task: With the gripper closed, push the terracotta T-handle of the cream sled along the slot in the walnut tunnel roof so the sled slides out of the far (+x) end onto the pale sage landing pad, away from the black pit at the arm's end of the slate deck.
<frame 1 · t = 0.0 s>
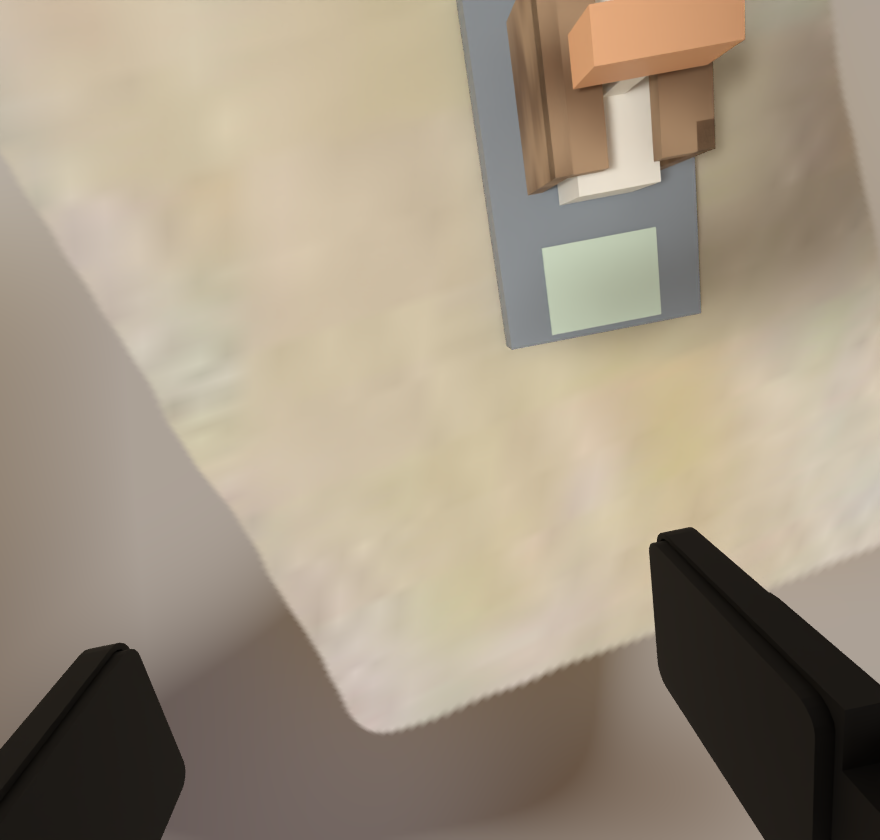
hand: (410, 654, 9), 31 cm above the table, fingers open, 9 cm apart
deck: (575, 109, 35), on the table
sled: (620, 67, 28), point 7 cm above the table, slide at 0.0 cm
tunnel: (605, 81, 30), on the deck, point 5 cm above the table
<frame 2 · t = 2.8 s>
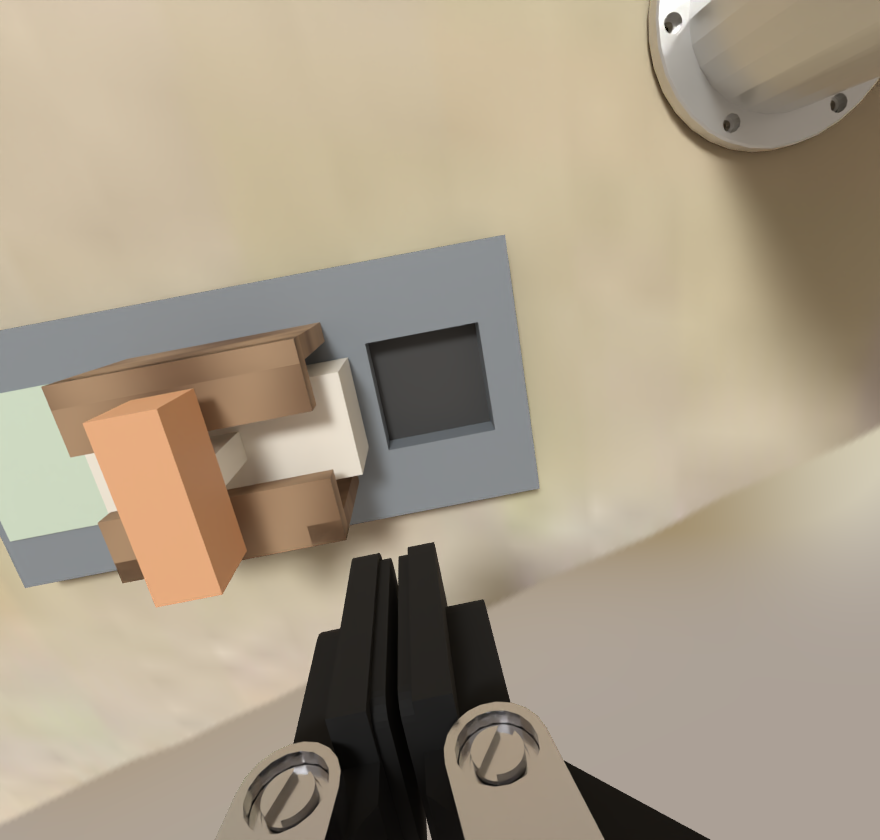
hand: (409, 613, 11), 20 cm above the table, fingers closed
deck: (258, 413, 30), on the table
sled: (212, 459, 23), point 7 cm above the table, slide at 0.0 cm
tunnel: (228, 442, 25), on the deck, point 5 cm above the table
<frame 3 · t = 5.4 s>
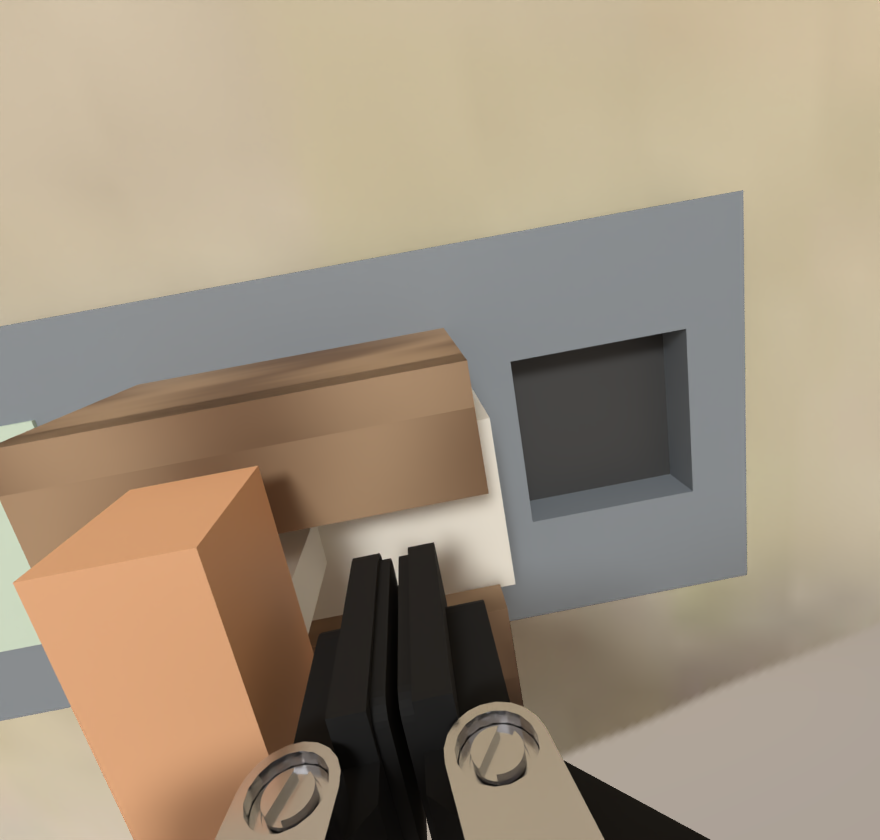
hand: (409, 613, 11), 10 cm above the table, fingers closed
deck: (331, 462, 20), on the table
sled: (273, 573, 13), point 7 cm above the table, slide at 0.5 cm, touching gripper
tunnel: (307, 527, 15), on the deck, point 5 cm above the table
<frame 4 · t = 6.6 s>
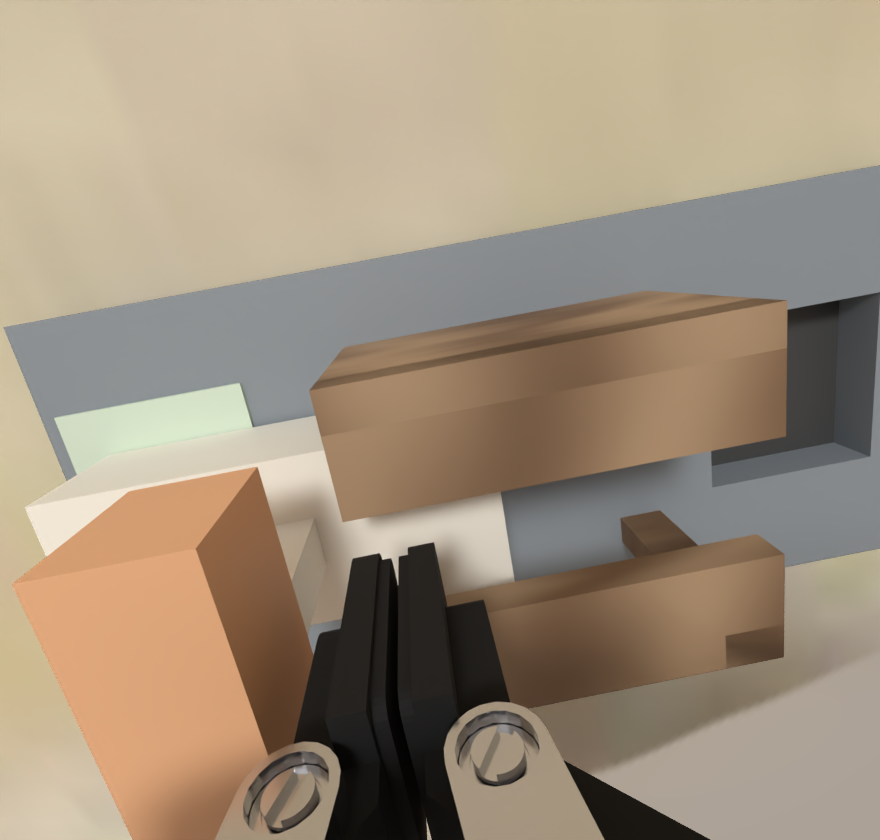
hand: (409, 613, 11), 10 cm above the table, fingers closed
deck: (503, 430, 20), on the table
sled: (272, 574, 13), point 7 cm above the table, slide at 7.2 cm, touching gripper
tunnel: (537, 483, 15), on the deck, point 5 cm above the table
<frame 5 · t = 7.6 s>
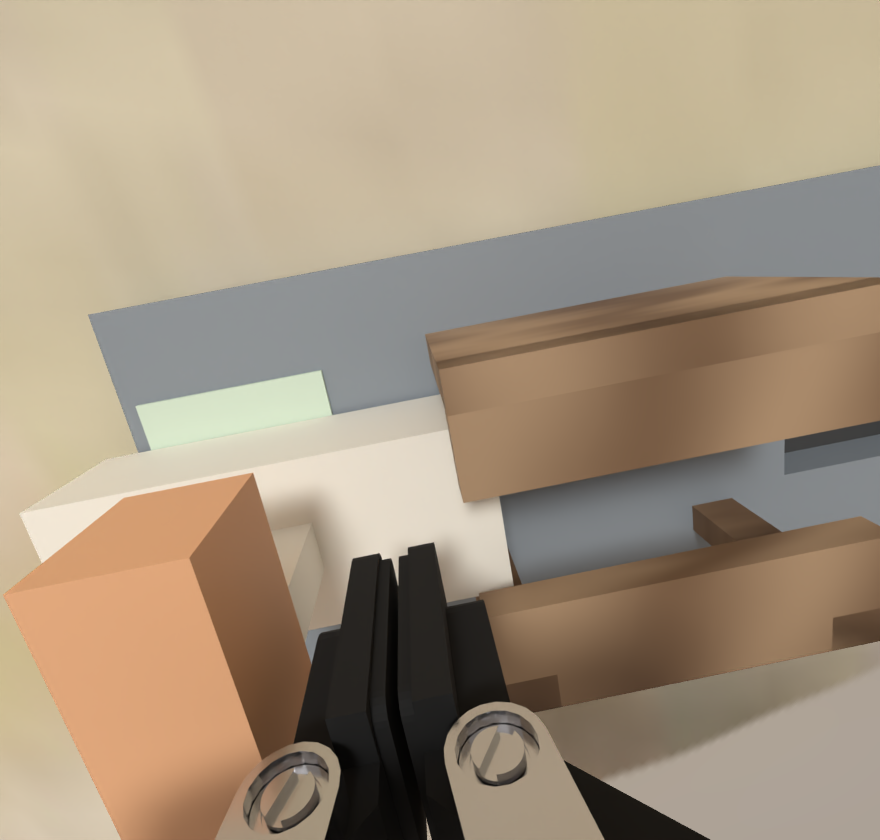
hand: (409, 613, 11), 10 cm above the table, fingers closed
deck: (571, 419, 20), on the table
sled: (269, 579, 13), point 7 cm above the table, slide at 9.9 cm, touching gripper
tunnel: (629, 468, 15), on the deck, point 5 cm above the table
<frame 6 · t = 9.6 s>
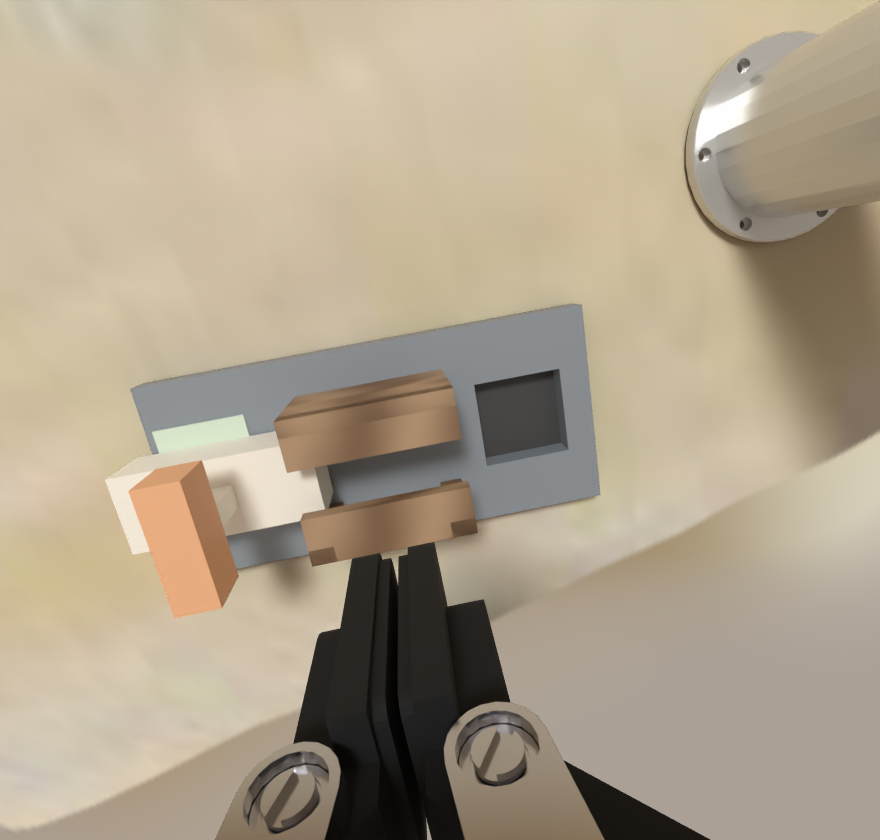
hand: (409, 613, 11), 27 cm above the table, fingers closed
deck: (382, 437, 38), on the table
sled: (212, 506, 30), point 7 cm above the table, slide at 10.0 cm
tunnel: (381, 461, 33), on the deck, point 5 cm above the table
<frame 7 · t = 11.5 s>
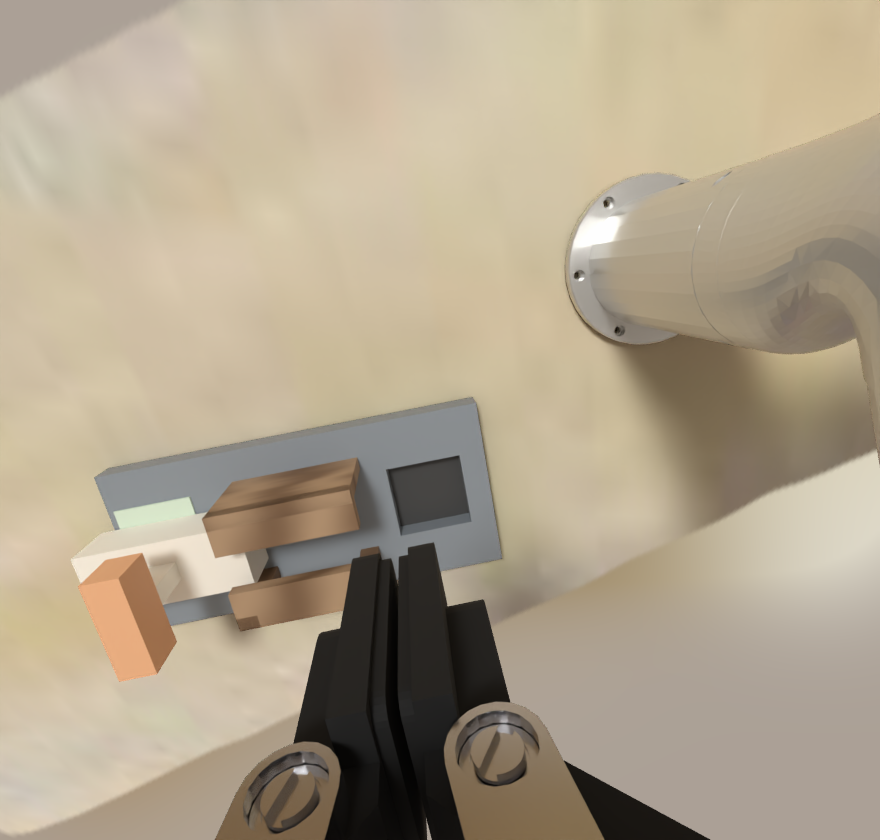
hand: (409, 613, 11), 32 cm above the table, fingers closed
deck: (312, 509, 44), on the table
sled: (157, 582, 37), point 7 cm above the table, slide at 10.0 cm
tunnel: (301, 539, 39), on the deck, point 5 cm above the table
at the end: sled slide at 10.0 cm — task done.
